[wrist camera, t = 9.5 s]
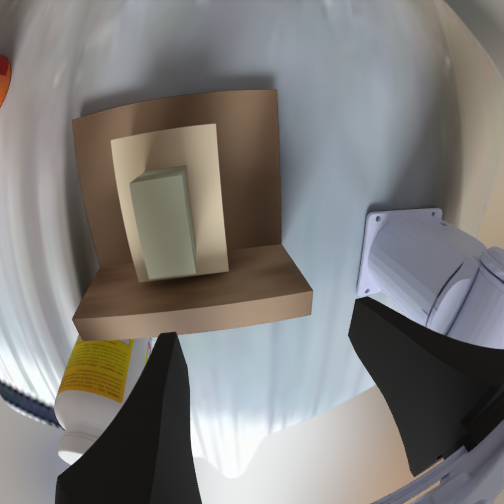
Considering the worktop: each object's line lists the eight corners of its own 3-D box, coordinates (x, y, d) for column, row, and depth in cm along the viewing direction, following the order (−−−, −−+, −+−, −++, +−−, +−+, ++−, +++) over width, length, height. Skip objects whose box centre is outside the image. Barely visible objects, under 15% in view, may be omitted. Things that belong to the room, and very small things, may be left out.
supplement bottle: (71, 319, 20) (24, 439, 8) (126, 296, 20) (88, 442, 9) (112, 366, 23) (93, 481, 12) (166, 351, 23) (163, 482, 12)
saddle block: (212, 125, 15) (220, 120, 9) (222, 241, 18) (236, 304, 12) (130, 137, 14) (86, 144, 8) (149, 251, 17) (128, 316, 11)
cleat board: (271, 92, 16) (314, 72, 9) (277, 256, 21) (311, 314, 14) (79, 120, 14) (19, 121, 7) (111, 277, 19) (82, 341, 13)
